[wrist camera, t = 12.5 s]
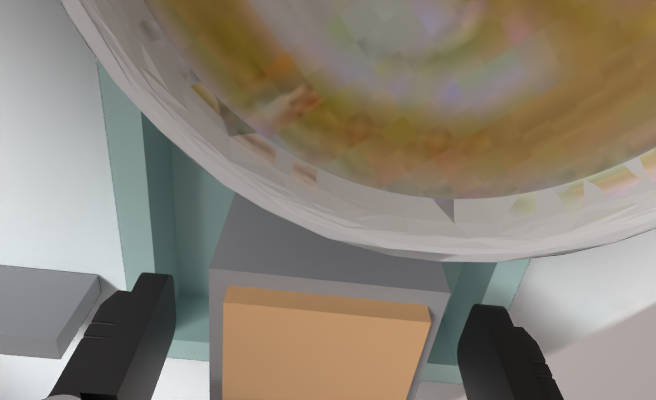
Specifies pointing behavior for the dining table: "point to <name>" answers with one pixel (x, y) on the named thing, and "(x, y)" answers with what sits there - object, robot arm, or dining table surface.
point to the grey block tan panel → (316, 314)
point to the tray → (206, 226)
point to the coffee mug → (405, 114)
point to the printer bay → (43, 309)
